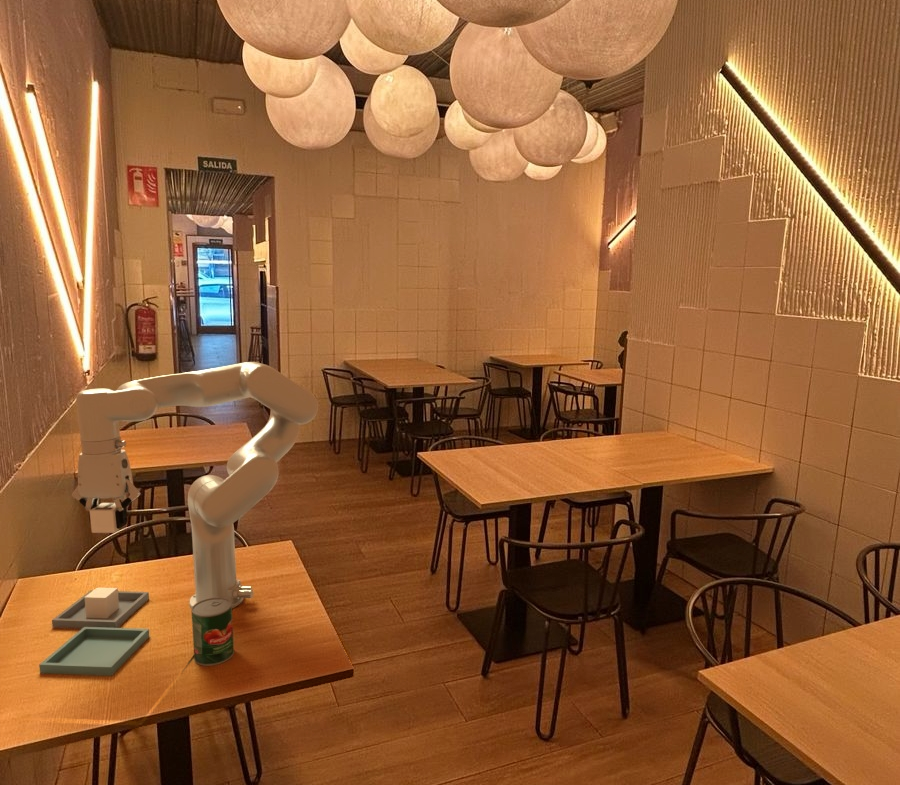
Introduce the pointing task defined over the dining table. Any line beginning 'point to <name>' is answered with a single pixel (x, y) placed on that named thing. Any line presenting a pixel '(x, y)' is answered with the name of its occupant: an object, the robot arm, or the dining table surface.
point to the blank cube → (101, 602)
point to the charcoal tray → (78, 620)
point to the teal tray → (95, 651)
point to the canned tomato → (212, 631)
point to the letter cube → (103, 518)
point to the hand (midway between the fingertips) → (109, 525)
